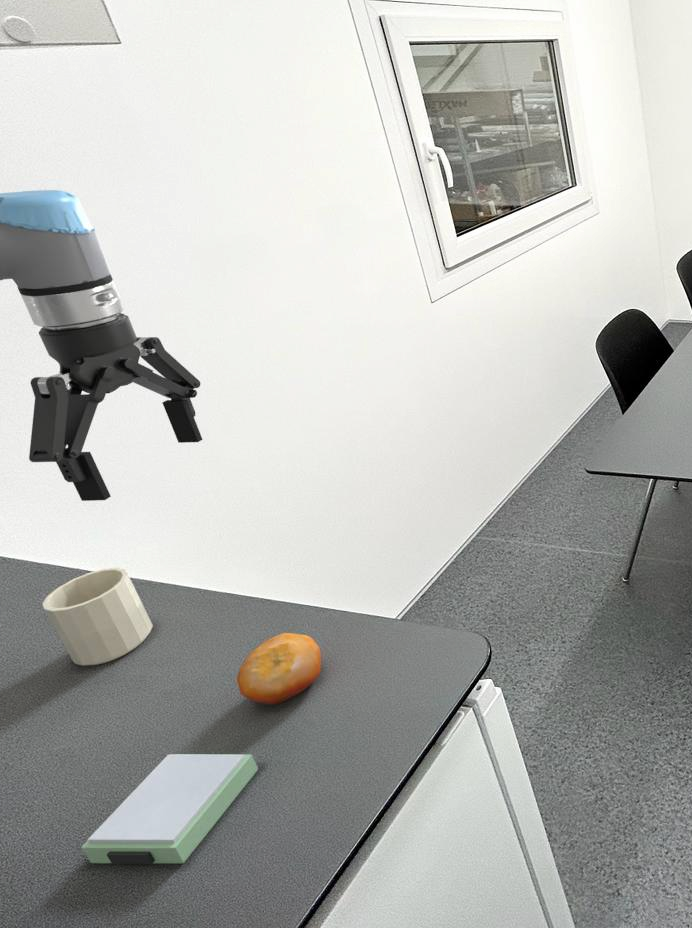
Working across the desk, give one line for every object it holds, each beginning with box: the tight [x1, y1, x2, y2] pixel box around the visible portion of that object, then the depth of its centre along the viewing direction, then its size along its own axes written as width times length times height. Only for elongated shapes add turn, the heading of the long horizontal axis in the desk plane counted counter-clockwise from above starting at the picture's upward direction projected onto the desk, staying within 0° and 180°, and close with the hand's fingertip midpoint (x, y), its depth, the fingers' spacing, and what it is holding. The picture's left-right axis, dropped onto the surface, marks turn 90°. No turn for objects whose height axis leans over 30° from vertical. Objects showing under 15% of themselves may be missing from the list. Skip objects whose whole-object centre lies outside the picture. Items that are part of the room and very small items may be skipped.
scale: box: [81, 753, 259, 865], centre depth 65 cm, size 9×10×3 cm
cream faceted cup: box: [41, 567, 154, 666], centre depth 84 cm, size 8×8×10 cm
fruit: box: [236, 632, 322, 706], centre depth 79 cm, size 8×8×8 cm
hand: (147, 468), depth 84 cm, fingers open, 13 cm apart
